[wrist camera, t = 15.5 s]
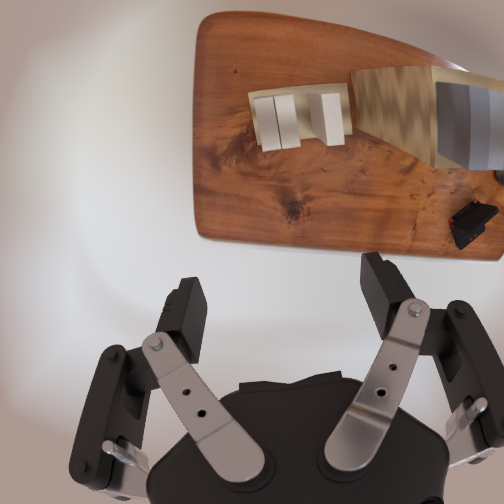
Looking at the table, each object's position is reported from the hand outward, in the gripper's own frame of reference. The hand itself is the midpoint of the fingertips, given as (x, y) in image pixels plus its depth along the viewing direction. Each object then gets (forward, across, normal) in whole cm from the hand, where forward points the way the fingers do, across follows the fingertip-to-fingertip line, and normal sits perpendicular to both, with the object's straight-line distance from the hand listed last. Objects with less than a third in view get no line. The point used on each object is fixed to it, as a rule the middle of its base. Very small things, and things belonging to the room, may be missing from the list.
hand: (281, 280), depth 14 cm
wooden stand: (+36, -23, -6) cm, 43 cm away
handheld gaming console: (+36, -43, +20) cm, 60 cm away
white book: (+36, -9, -4) cm, 37 cm away
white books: (+36, -7, -4) cm, 37 cm away
